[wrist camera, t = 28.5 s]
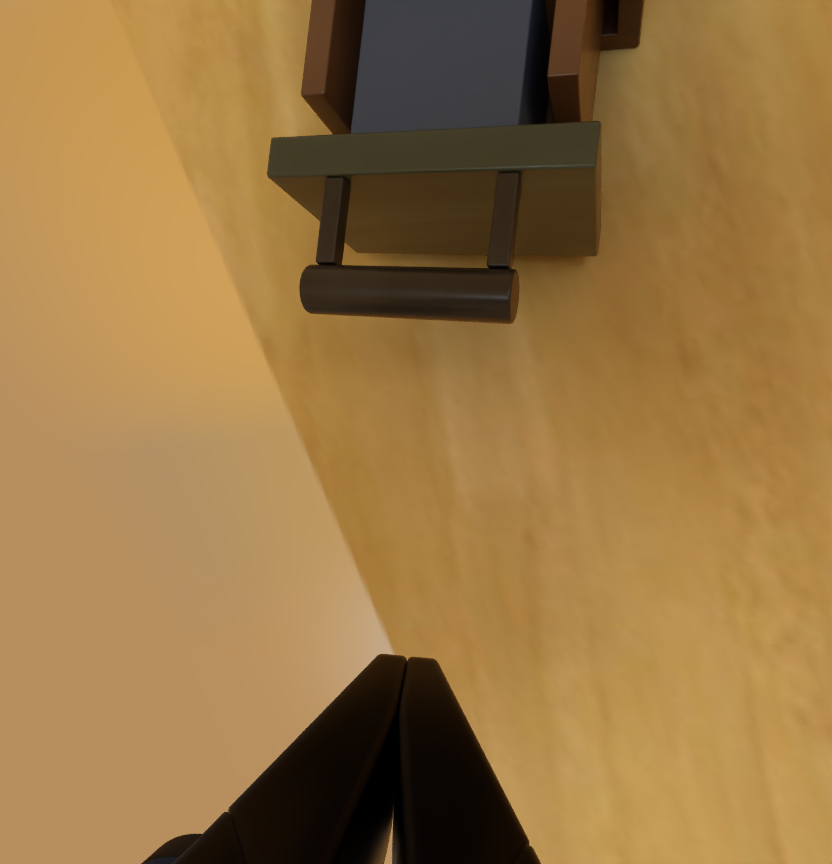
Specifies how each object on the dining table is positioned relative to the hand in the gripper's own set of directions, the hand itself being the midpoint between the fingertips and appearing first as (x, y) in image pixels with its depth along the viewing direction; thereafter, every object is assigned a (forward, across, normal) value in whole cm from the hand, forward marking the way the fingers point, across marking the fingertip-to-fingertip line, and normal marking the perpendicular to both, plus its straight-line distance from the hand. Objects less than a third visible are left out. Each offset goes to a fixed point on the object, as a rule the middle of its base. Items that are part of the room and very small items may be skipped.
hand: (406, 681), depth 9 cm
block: (+16, 0, -10) cm, 19 cm away
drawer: (+17, -1, -11) cm, 20 cm away
